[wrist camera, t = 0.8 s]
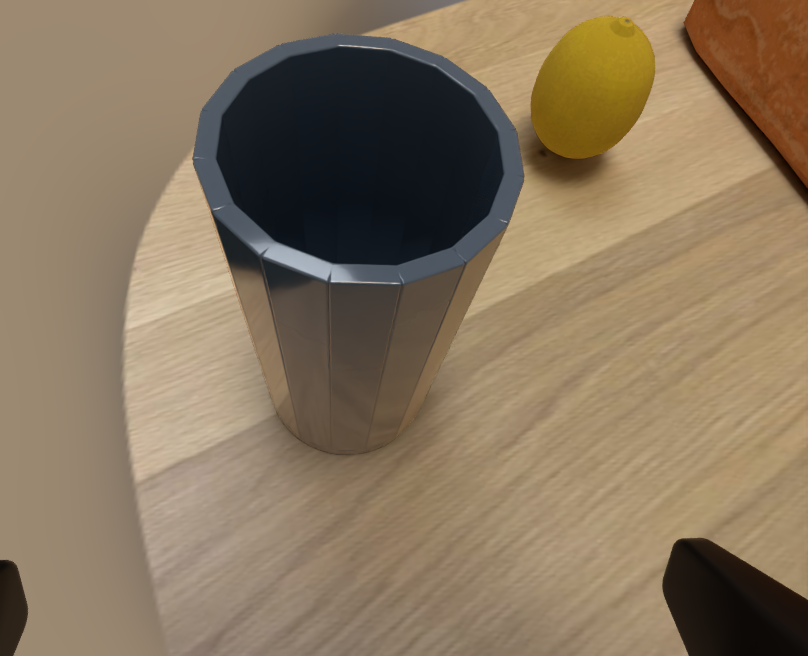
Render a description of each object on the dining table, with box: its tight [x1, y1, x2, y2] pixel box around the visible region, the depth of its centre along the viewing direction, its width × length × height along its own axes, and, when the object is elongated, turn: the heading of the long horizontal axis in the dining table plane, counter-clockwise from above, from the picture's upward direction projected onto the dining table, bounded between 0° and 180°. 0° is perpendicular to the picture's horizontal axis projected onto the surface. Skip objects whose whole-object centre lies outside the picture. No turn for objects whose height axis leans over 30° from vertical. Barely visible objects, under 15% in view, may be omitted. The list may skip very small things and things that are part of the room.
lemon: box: [531, 16, 655, 159], centre depth 28 cm, size 6×6×8 cm
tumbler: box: [193, 34, 524, 455], centre depth 17 cm, size 7×7×14 cm
